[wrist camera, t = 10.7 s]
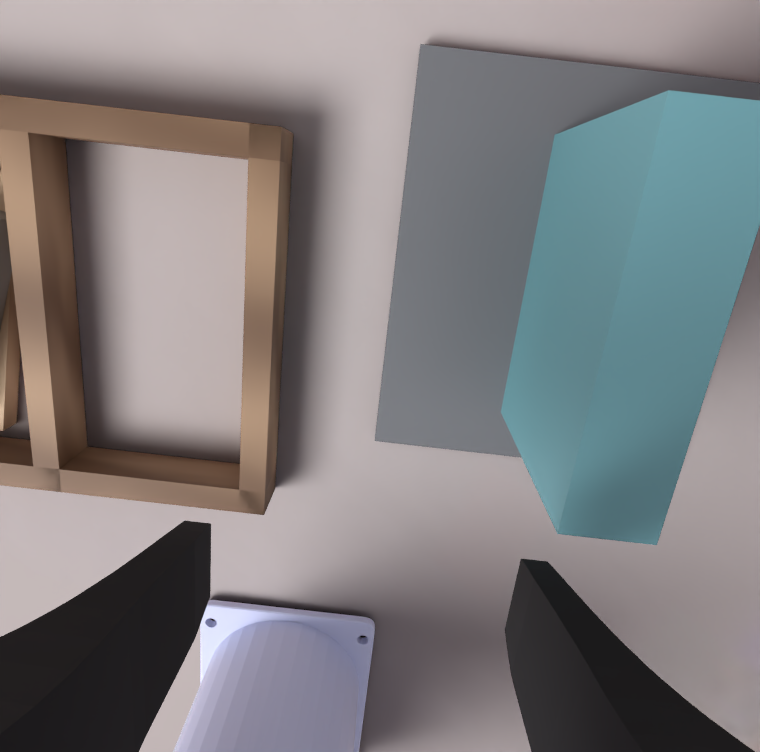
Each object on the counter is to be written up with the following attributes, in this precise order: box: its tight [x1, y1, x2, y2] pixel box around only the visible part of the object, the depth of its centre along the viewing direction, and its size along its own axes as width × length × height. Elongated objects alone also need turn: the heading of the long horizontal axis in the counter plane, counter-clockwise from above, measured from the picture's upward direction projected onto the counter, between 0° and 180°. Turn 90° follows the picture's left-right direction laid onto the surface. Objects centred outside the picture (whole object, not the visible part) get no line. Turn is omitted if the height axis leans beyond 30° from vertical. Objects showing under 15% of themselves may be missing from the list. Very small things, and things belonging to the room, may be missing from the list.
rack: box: [0, 95, 293, 515], centre depth 20 cm, size 14×16×2 cm
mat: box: [375, 44, 760, 458], centre depth 20 cm, size 14×12×1 cm
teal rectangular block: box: [501, 90, 760, 545], centre depth 16 cm, size 10×2×8 cm, turn 174°
